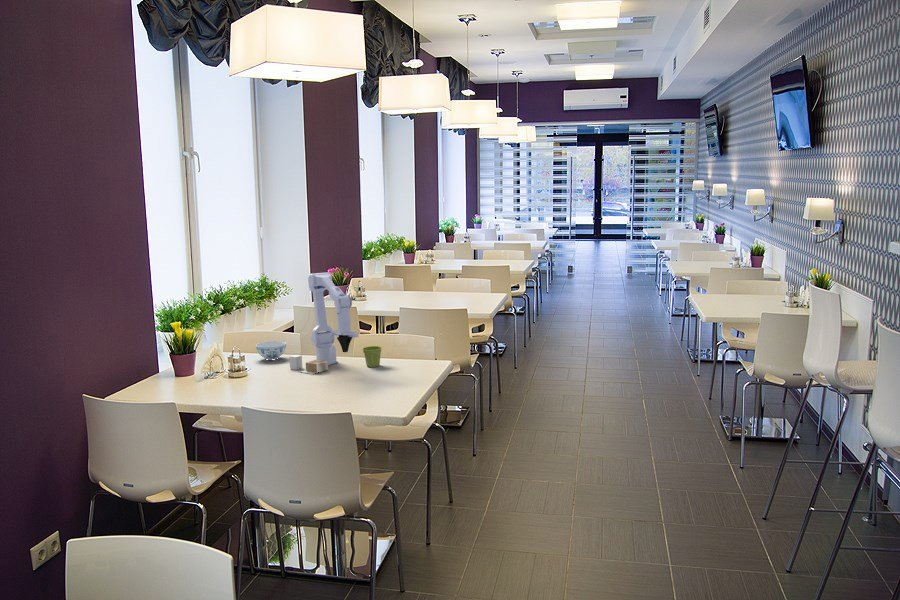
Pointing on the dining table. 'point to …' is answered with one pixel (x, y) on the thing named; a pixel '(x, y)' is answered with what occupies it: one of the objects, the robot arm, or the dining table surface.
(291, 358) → the grey block
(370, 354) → the plant pot
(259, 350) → the chinaware
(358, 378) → the dining table surface
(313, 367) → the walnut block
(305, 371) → the sage mat
